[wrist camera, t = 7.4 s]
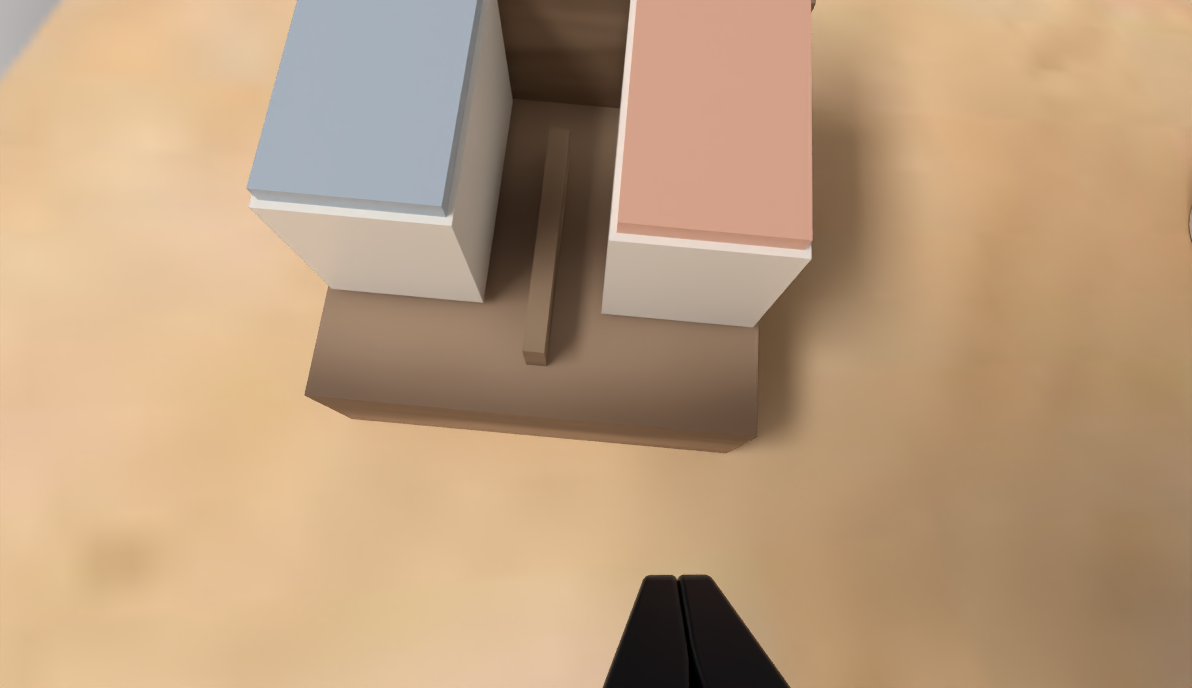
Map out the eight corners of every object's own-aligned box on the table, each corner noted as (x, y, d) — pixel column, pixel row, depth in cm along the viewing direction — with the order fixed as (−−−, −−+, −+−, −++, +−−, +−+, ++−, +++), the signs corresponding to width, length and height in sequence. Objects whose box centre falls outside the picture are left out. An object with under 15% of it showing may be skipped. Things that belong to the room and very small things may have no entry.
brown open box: (725, 453, 22) (829, 398, 13) (351, 418, 22) (191, 339, 13) (735, 150, 26) (823, -63, 16) (410, 120, 26) (315, -110, 16)
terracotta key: (752, 327, 19) (819, 249, 14) (601, 313, 19) (610, 230, 14) (757, 123, 21) (816, -14, 16) (619, 111, 21) (633, -30, 16)
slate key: (483, 302, 19) (447, 215, 14) (332, 288, 19) (237, 196, 14) (512, 101, 21) (490, -44, 16) (375, 88, 21) (307, -60, 16)
